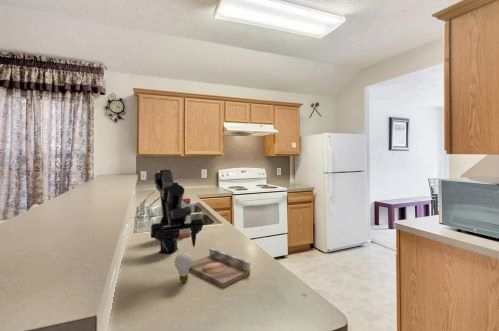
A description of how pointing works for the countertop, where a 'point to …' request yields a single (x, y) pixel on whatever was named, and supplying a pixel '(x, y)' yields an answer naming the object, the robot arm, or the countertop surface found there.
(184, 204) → the cracker box
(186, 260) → the light bulb
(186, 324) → the countertop surface
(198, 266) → the board
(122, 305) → the countertop surface
